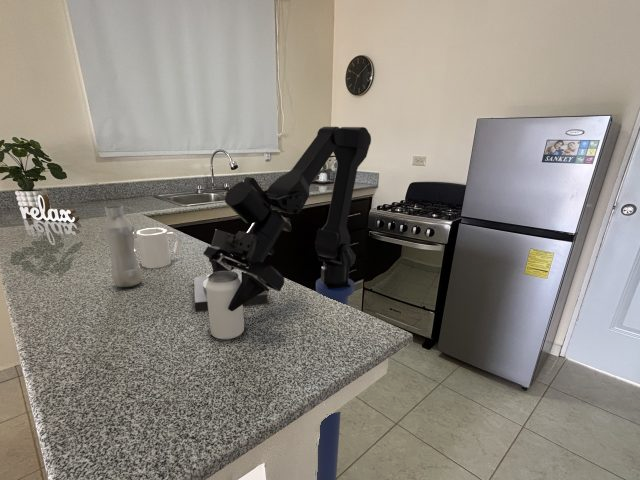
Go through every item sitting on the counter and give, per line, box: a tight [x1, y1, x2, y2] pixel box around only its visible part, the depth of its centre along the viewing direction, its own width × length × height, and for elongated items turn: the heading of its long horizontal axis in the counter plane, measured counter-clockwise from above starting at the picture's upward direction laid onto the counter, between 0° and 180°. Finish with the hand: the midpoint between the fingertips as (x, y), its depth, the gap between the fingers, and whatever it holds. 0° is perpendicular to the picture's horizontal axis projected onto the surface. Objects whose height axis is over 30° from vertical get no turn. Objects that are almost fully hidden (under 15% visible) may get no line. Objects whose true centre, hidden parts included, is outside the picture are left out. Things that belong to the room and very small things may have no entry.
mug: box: [135, 227, 182, 269], centre depth 103 cm, size 12×9×10 cm
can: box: [206, 270, 245, 341], centre depth 67 cm, size 6×6×12 cm
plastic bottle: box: [102, 205, 143, 288], centre depth 85 cm, size 6×7×20 cm
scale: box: [193, 272, 268, 313], centre depth 85 cm, size 16×15×3 cm
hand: (219, 304), depth 66 cm, fingers closed on can, 6 cm apart
